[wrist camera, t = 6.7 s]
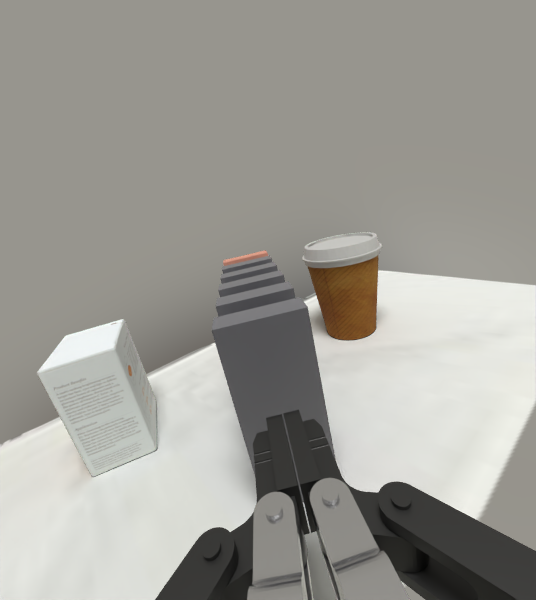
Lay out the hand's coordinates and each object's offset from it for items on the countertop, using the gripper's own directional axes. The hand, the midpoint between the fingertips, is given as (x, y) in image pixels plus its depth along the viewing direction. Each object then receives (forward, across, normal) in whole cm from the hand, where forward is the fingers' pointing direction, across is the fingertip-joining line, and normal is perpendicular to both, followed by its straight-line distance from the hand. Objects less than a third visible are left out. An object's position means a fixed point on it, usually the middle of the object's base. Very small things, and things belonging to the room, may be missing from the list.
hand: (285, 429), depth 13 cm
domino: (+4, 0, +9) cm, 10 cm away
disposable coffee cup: (+25, -12, +9) cm, 29 cm away
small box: (+15, +15, +9) cm, 23 cm away
